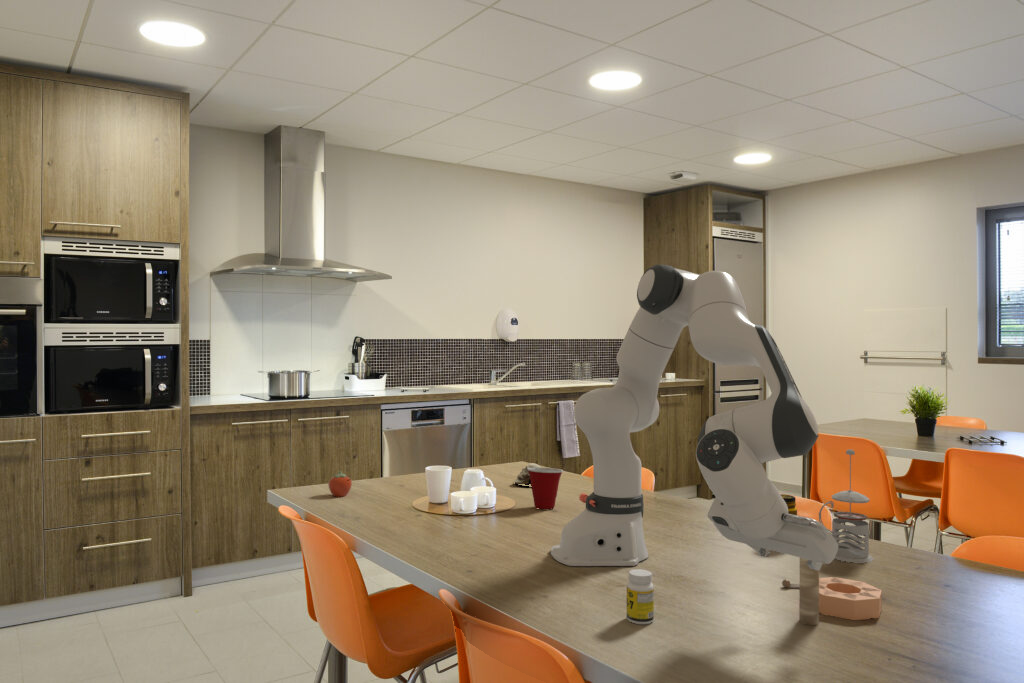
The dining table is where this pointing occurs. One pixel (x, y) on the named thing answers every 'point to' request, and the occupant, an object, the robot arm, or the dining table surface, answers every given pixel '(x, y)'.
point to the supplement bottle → (640, 597)
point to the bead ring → (849, 599)
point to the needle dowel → (808, 594)
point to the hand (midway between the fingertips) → (790, 559)
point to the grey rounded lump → (525, 475)
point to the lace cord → (787, 584)
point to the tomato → (340, 485)
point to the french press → (850, 527)
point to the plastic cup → (544, 486)
